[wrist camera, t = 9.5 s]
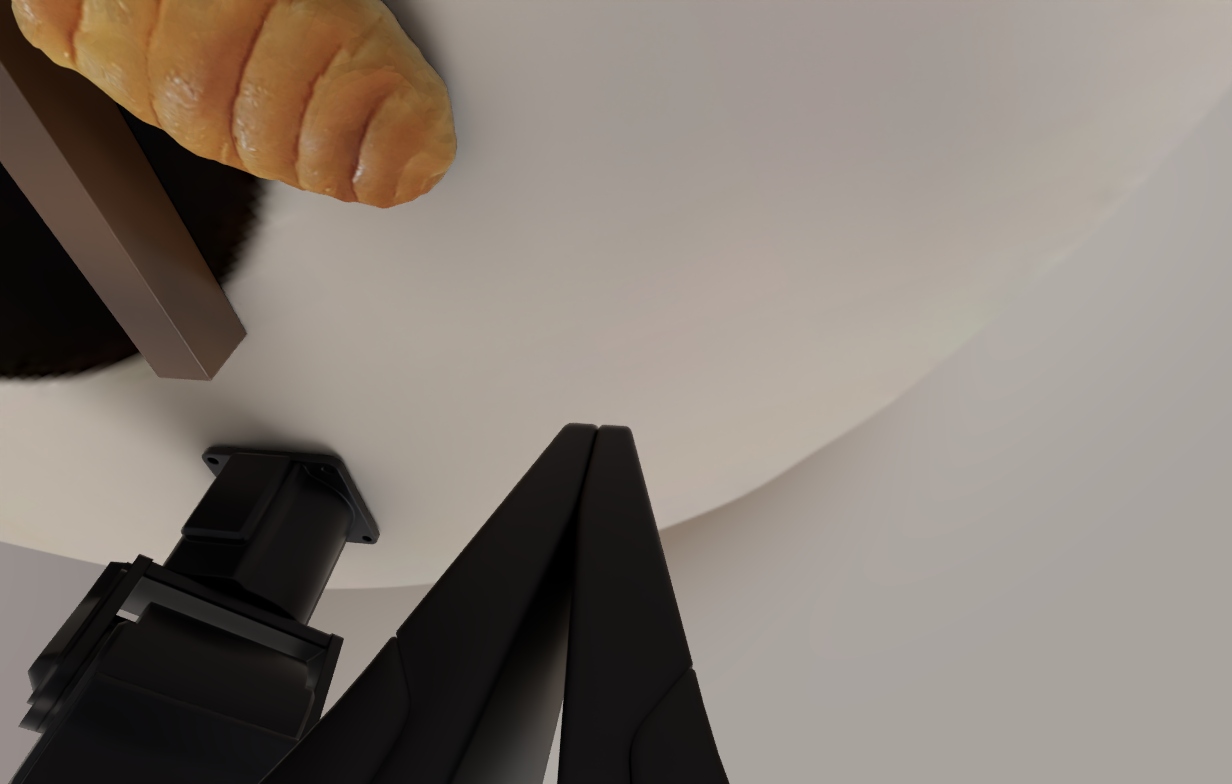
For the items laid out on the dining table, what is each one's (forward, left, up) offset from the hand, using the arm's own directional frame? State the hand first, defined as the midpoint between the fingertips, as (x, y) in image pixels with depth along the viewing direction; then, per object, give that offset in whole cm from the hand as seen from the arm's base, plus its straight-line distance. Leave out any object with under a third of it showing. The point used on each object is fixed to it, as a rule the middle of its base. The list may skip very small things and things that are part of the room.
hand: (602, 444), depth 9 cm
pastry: (+2, +10, -12) cm, 15 cm away
